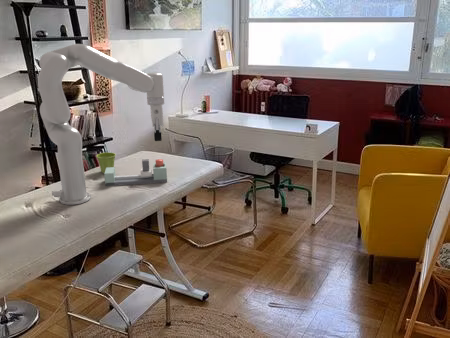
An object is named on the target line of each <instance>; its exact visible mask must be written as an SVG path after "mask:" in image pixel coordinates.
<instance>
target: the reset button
mask: <svg viewBox="0 0 450 338" xmlns="http://www.w3.org/2000/svg"><path fill="white" fill-rule="evenodd" d="M154 162H155V163H156V167H163V166H164V165H163V162H164V159H160V158H159V159H155V161H154Z"/></svg>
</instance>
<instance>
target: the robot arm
mask: <svg viewBox="0 0 450 338" xmlns="http://www.w3.org/2000/svg"><path fill="white" fill-rule="evenodd" d="M38 62H39V67H40V68H41V69H40V71H39V73H38V78H37V87H38V91H39V95H40V97H41V103H40V106H39V113H40V114H39V115H40V117H41V119H42V122H43V125H44V128H45V130H46V133H47V135H48V137H49V139H50V141H51V142H52V143H54V144H55V145H56V146H57V160H58V162H57V163H58V169H59V171H58V172H59V176H60V177H59V178H60V184H61V189H60V190H54V191H52V190H51V196H53V197H54V198H59V203H60V204H63V205H67V206H70V205H71V206H72V205H75V206H76V205H80V204H83V203H86V202H88V201H89V200H91V198H92V196H91V193H90V192H87V186H86V177H85V170H84V161H83V137H82V134H81V133H80V132H79V130H78V129H77V128H76V127H73V126H72V125H70V122H69V121H70V119H71V117H72V115H71V110H70V109H71V108H70V106H69V104H68V101H67V98H66V95H65V92H64V90H63V89H64V88H63V84H62V83H63V79H64V77H65V75H66V74H67V72H68V71H69V69H72V68H74V67H77V66H80V67H82V68H84V69H87V70H89V71H91V72H93V73H96V74H97V75H98V76H99V75H100V76H101V77H103V78H106V79H109V80H111V81H113V82H114V81H115V82H119V83H122V84H124V85H127V86H128V88H129V89H131V90H132V91H136V92H139V93H140V92H141V93H144V94H145V93H146V100H147V102H146V103H147V105H148V106H149V108H150V117H151V118H150V119H151V124H152V127H153V128H154V131H153V135H154V139H153V140H154V141H155V142H162V131H161V127H164V111H163V105H164V104H165V92H164V77H163V74H162V73H161V72H154V71H153V72H148V73H146V72H145V73H144V72H142V71H141V70H139V69H137V68H135V67H133V66H130V65H128V64H126V63H124V62H122V61H120V60H119V59H115V58H114V57H112V56H110V55H108V54H105V53H104V52H101V50H99V49H98V50H97V49H96V48H93V47H92V46H90V45H88V44H84V43H83V44H82V43H74V44H70V45H68V46H63V47H61V48H58V49H54V50H51V51H47V52H45V53H43V54H42V55H41V56H40V58H39V61H38Z"/></svg>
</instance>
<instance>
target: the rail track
mask: <svg viewBox="0 0 450 338" xmlns="http://www.w3.org/2000/svg"><path fill="white" fill-rule="evenodd" d="M152 165H153V166H152V169H153V170H152V172H153V173H152V176H147V177H141V174H130V175H129V174H128V175H127V174H125V175H117V174H116V167H115V166H114V167H108V168H106V170H105V173H103V174H104V182H105V183H104V184H105V187H110V186H114V187H115V186H126V185H129V186H130V185H143V184H146V185H147V184H158V183H168V175H167V173H168V172H167V162H166V161H163V165H164V166H163V167H156V162H153V163H152Z"/></svg>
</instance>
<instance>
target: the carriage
mask: <svg viewBox="0 0 450 338" xmlns="http://www.w3.org/2000/svg"><path fill="white" fill-rule="evenodd" d="M141 164H142V165H141V166H142V168H140V175H141V177H147V176H152V174H153V173H152V172H153V170H152V169H153V167H151V168H150V159H148V158H147V159H142V160H141Z"/></svg>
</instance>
